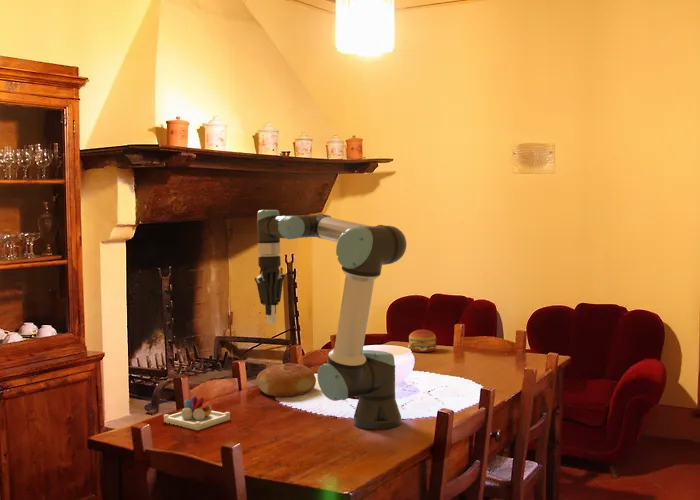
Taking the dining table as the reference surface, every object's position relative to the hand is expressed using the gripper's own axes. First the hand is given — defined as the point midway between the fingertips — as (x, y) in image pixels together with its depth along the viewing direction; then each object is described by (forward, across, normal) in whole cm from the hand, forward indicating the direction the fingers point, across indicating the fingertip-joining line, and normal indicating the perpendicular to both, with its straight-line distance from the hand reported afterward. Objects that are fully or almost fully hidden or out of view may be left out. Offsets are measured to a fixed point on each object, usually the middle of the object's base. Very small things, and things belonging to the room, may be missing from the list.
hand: (271, 324), depth 266 cm
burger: (+30, -113, -9) cm, 117 cm away
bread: (+30, -21, -13) cm, 39 cm away
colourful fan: (+29, +25, -11) cm, 40 cm away
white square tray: (+29, +25, -11) cm, 40 cm away
